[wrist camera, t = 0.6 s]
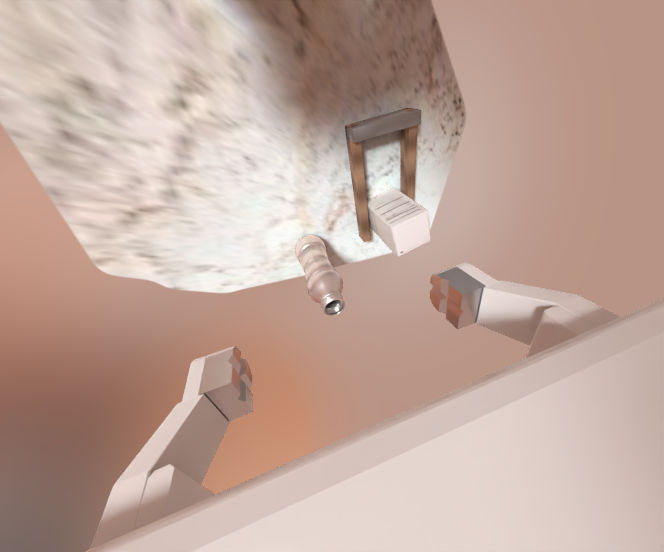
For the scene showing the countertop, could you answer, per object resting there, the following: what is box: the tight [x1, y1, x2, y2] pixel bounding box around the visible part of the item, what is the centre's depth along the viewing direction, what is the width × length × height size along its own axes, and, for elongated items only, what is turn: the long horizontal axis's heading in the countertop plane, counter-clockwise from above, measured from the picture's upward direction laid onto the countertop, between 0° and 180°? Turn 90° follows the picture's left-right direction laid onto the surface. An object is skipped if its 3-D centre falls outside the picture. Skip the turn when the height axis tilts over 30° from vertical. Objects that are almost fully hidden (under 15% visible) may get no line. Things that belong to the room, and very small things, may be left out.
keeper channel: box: [345, 108, 421, 242], centre depth 49 cm, size 22×12×4 cm, turn 11°
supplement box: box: [367, 187, 431, 257], centre depth 50 cm, size 7×7×13 cm
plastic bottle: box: [295, 235, 345, 316], centre depth 47 cm, size 6×7×20 cm
